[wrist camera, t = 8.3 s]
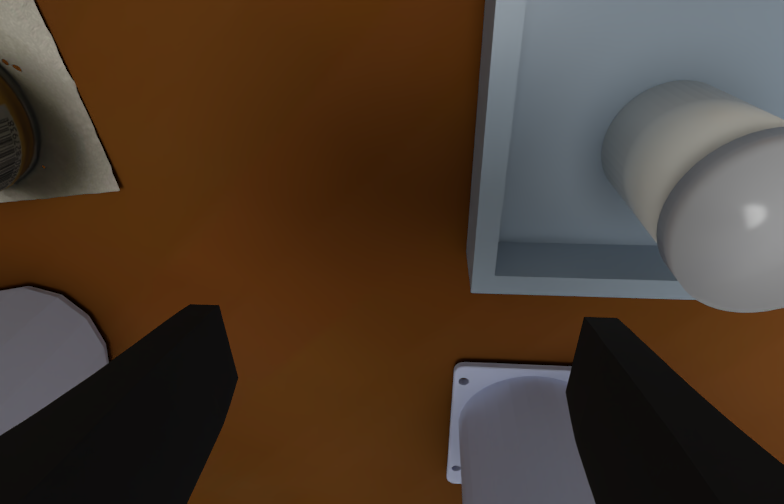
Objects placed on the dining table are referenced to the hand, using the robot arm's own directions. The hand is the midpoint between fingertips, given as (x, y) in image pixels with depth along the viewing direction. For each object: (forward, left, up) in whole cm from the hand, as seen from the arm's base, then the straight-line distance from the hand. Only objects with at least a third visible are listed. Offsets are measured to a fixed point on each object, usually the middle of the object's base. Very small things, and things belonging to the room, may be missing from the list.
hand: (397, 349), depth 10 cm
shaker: (+1, -9, -10) cm, 13 cm away
